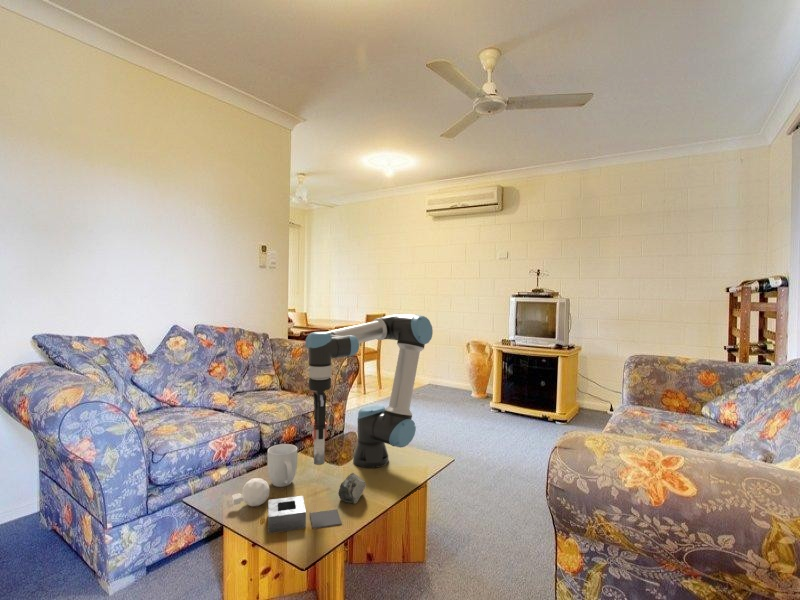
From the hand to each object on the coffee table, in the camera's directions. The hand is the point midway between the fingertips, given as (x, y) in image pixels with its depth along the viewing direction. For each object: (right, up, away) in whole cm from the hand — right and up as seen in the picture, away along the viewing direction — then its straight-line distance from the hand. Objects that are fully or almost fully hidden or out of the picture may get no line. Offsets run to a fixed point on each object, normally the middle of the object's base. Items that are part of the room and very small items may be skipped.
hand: (319, 444), depth 148 cm
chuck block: (-8, -20, -11) cm, 25 cm away
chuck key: (0, -6, 0) cm, 6 cm away
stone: (+11, -21, +3) cm, 24 cm away
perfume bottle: (-23, -20, -1) cm, 31 cm away
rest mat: (+4, -21, -10) cm, 23 cm away
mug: (-16, -20, +14) cm, 29 cm away
